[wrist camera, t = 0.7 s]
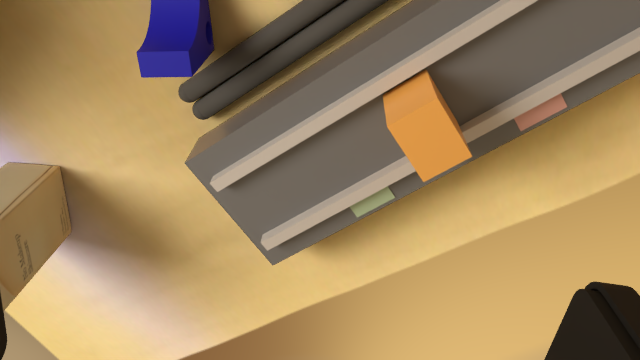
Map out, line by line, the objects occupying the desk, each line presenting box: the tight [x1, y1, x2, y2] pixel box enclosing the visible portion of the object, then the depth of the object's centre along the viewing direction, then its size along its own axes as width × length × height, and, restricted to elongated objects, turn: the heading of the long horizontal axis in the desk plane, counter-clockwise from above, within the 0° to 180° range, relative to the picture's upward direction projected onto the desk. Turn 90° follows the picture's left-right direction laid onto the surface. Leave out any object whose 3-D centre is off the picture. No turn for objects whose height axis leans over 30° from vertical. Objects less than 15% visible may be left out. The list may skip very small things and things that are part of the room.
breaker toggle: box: [383, 69, 472, 182], centre depth 32 cm, size 3×4×5 cm
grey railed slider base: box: [185, 0, 640, 265], centre depth 35 cm, size 30×10×5 cm, turn 124°
